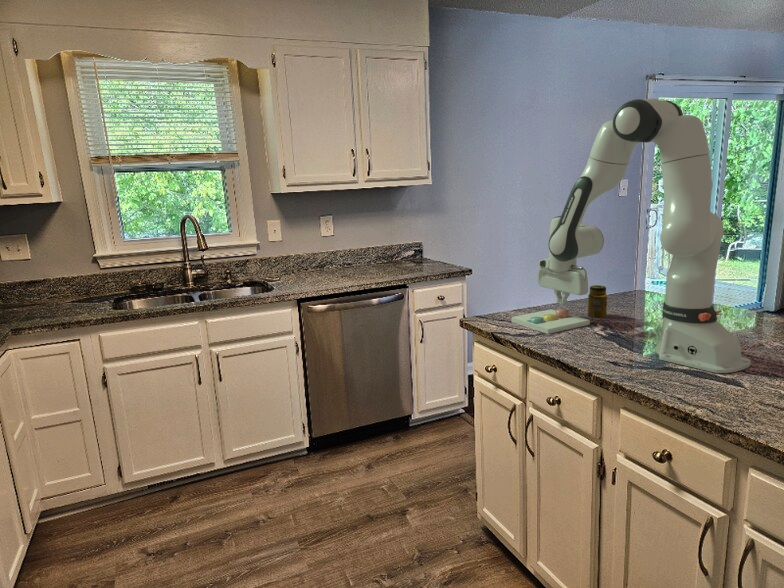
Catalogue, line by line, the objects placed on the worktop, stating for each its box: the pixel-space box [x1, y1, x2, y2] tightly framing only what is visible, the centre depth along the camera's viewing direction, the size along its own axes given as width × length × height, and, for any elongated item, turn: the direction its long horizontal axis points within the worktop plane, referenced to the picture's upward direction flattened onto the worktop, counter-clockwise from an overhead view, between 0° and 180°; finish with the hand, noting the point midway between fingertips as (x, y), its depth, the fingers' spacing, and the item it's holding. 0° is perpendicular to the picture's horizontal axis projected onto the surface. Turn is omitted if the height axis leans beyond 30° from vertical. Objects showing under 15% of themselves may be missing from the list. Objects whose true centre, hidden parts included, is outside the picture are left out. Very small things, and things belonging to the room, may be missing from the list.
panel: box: [511, 308, 591, 335], centre depth 173 cm, size 18×18×3 cm
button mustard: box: [543, 314, 556, 321], centre depth 173 cm, size 4×4×4 cm
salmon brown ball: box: [555, 308, 570, 319], centre depth 175 cm, size 4×4×4 cm
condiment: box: [587, 285, 608, 319], centre depth 177 cm, size 7×8×12 cm
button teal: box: [531, 317, 544, 324], centre depth 171 cm, size 4×4×4 cm
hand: (561, 303), depth 175 cm, fingers closed
